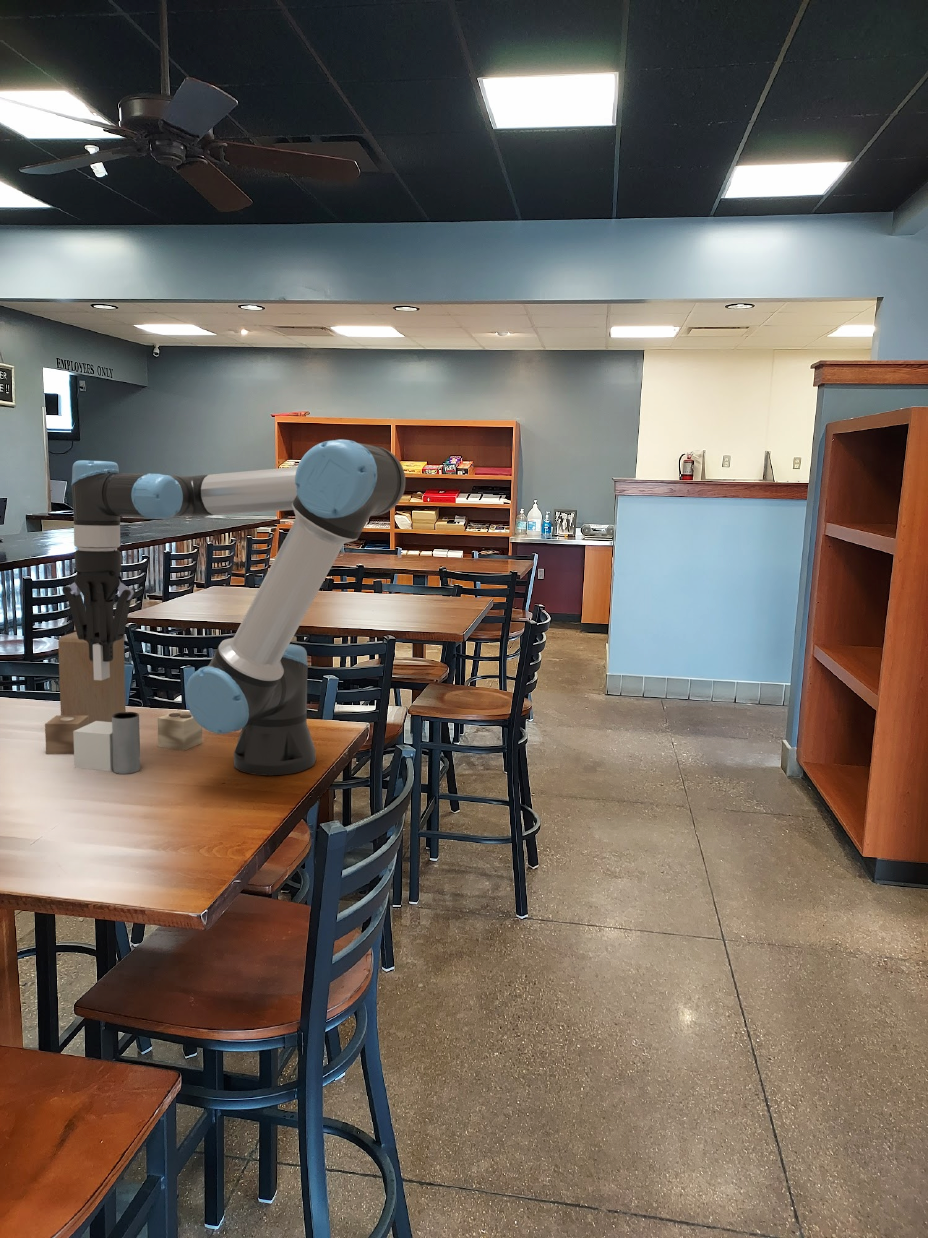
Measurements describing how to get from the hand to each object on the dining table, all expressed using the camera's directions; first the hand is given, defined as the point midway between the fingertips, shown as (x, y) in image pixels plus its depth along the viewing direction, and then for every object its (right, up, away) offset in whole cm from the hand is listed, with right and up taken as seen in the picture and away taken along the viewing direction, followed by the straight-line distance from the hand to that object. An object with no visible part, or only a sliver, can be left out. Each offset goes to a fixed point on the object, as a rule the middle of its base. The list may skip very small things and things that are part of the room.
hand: (101, 678), depth 148 cm
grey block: (-1, -16, +2) cm, 16 cm away
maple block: (+9, -14, +15) cm, 23 cm away
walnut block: (-11, -15, +10) cm, 21 cm away
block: (-13, -12, +25) cm, 31 cm away
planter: (+5, -17, -1) cm, 17 cm away
